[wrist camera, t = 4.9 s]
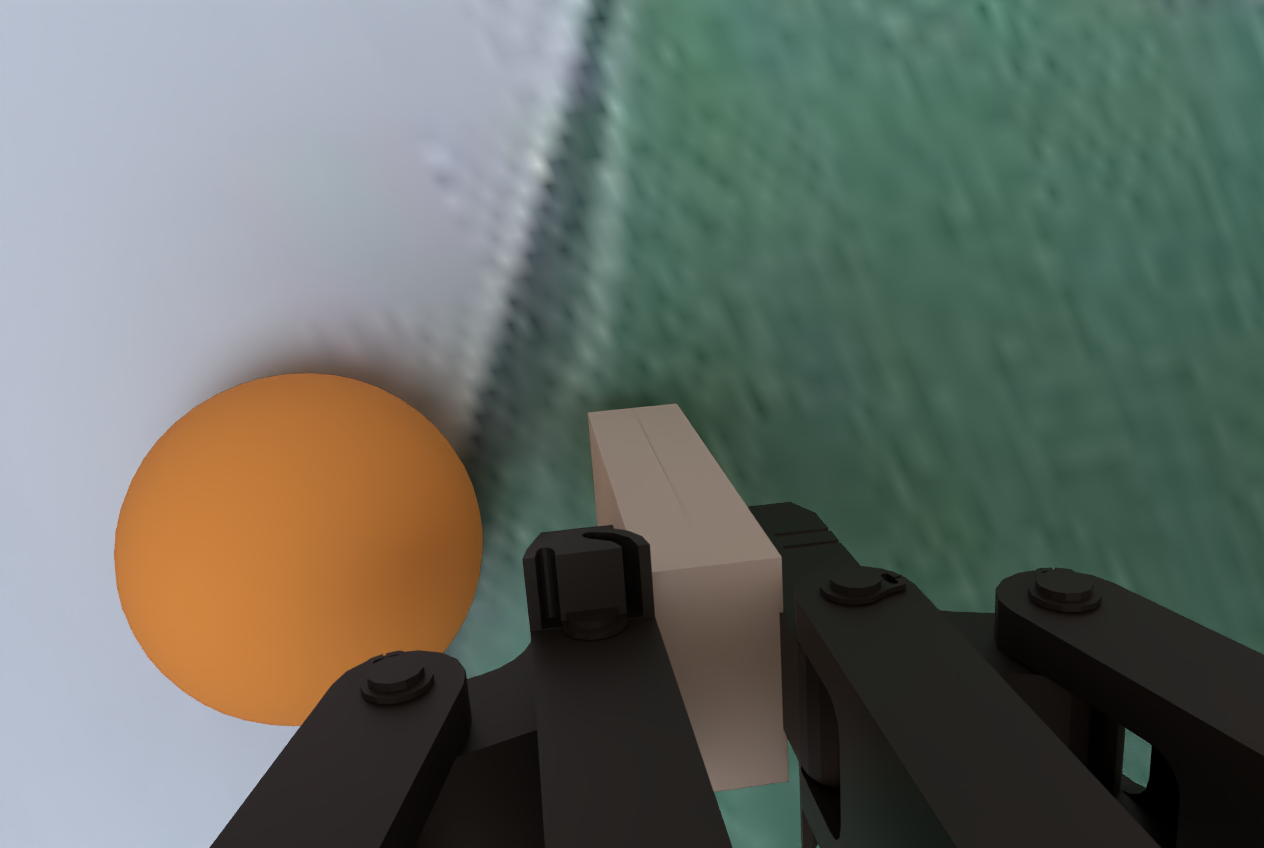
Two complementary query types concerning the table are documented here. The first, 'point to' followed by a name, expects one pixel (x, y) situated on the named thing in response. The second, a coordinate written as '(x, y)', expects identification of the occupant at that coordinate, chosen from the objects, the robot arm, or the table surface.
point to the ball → (294, 542)
